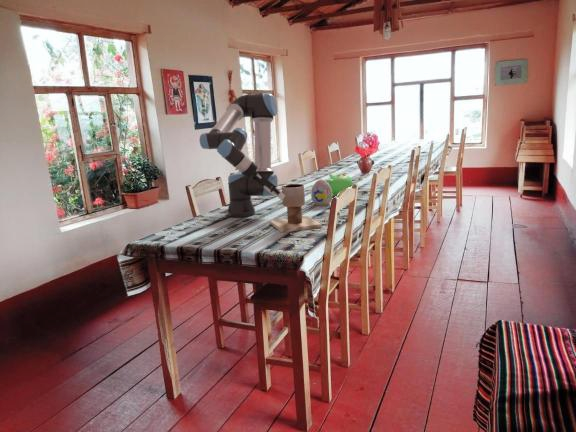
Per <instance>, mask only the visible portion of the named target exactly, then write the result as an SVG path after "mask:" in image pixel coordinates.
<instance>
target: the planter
mask: <svg viewBox="0 0 576 432" xmlns="http://www.w3.org/2000/svg"><path fill="white" fill-rule="evenodd" d="M281 192H282V193H283V194H284V195H285V197H284V198H283V200H281V201H282V206H283V207H286V208H287V207H300V206H301V207H303V206H305V204H306V198H305V185H304V184H302V183H291V184H284V185H282V186H281Z"/></svg>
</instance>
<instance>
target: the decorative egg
mask: <svg viewBox="0 0 576 432" xmlns="http://www.w3.org/2000/svg"><path fill="white" fill-rule="evenodd" d="M325 180H326V179H318V180H316V181H315V183H314V184H313V186H312V188H311V193H310V196H311V200H312V203H313V204H314V205H315V206H319V207H324V206H329V205H330V204H331V202H332V198H333V194H332V190H331V187H330V185H329V183H327V182H326V181H325Z"/></svg>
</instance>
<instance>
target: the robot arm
mask: <svg viewBox="0 0 576 432" xmlns="http://www.w3.org/2000/svg"><path fill="white" fill-rule="evenodd" d="M276 115H278V105H277V100H276V98H275V96H274V95H273V94H272V93H266V92H263V93H255V94H254V93H253V94H252V93H251V94H243V95H241V96H238V97H237V98H235V99H233V101H231V102H230V103H229V104H228V105H227V107H226V110H225V112H224V114H222V116H221V117H220V118H219V120H217V122H216V123H215V124H214V126H213V127H212V128H211V130H210V131H209V132H203V133H201V134H200V137H199V144H200V147H201V148H202V149H203V150H216V152H217V153H218V154H219V155H220V156H221V157H222V158H223V159H224V160H226V161H227V163H228V164H230V165H232V166H233V168H235V169H234V170H236V171H237V170H238V172H235V173H232V174H229V175H228V177H227V179H228V180H227V182H228V183H227V185H228V195H229V204H228V209H227V216H228V217H231V218H245V217H251V216H254V215H256V209H255V207H254V203H253V201H252V198H251V197H270V196H276V197H278V198H279V200H280V201H282V200H283V198H284V197H285V195H284V194H283V193H282V190H280V189H279V188H278V181H279V180H278V176H277V174H276V173H275V172H274V169H272V165H271V164H272V156H271V155H272V154H271V151H272V147H271V143H272V141H271V139H272V137H271V136H272V134H271V132H272V131H271V130H272V129H271V125H272V123H271V122H273V121H274V117H275V116H276ZM249 117H250V118H251V120H252V122H253V123H254V161H252V159H251V158H250V157H248V155H246V154H245V153H244V152H243V148H244V146H245V145H246V142H247V139H248V133H247V131H246V130H245V129H244V128H242V127H236V128H234V126H235V125H236V124H237V123H238V122H239V121H241V120H242V119H244V118H249ZM233 128H234V129H233ZM232 129H233V130H232Z"/></svg>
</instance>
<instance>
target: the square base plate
mask: <svg viewBox="0 0 576 432" xmlns="http://www.w3.org/2000/svg"><path fill="white" fill-rule="evenodd" d="M286 209H287V210H286V211H287V212H286V214H287V216H286V217H287V218H278V219H271V220H269V224H270V225H271V226H272V227H274V228H275V229H277V230H278V231H279V232H281V233H289V232H296V231H297V232H298V231H303V230H304V231H305V230H309V229H319V228H322V227H323V225H322V223H321V222H318V221H317V220H315V219H313V218H312V217H310V216H308V215H304V216H303V214H302V213H303V211H302V209H303V208H302V206H300V207H286Z"/></svg>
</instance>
